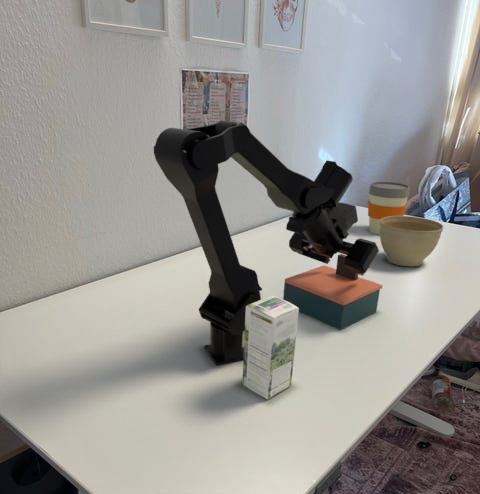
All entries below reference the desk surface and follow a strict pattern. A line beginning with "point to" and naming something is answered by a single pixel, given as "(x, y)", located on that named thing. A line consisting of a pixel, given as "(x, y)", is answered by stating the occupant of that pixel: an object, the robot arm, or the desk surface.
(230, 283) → the robot arm
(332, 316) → the box
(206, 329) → the desk surface
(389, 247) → the planter bowl
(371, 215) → the reusable coffee cup
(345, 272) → the lid
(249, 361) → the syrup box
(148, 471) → the desk surface
